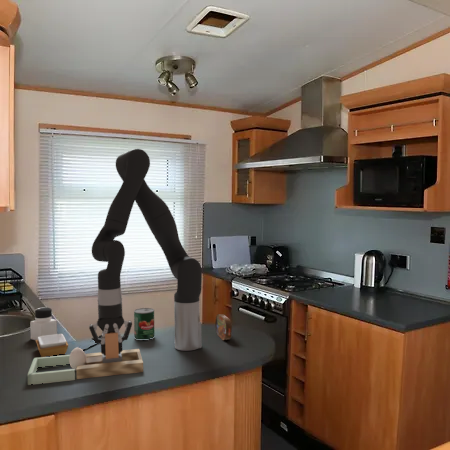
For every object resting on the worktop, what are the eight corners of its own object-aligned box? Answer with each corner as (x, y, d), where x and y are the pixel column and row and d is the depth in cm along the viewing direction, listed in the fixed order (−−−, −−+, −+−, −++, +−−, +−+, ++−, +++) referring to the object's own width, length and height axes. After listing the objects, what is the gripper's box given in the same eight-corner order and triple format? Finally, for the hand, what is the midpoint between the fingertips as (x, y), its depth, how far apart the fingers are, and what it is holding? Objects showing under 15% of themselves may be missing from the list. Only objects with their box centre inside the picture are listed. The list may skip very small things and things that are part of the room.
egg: (88, 366, 150) (86, 344, 149) (85, 372, 144) (84, 349, 144) (71, 367, 149) (70, 345, 148) (68, 374, 144) (67, 351, 143)
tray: (76, 362, 153) (76, 354, 153) (74, 380, 139) (74, 370, 139) (34, 367, 150) (34, 358, 150) (27, 385, 135) (27, 375, 135)
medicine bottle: (57, 337, 182) (56, 307, 181) (41, 342, 176) (41, 311, 175) (46, 334, 186) (45, 305, 185) (30, 339, 180) (29, 309, 179)
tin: (214, 332, 188) (214, 311, 187) (222, 331, 189) (222, 311, 188) (225, 343, 173) (225, 321, 173) (233, 342, 174) (233, 320, 174)
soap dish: (68, 355, 161) (68, 341, 161) (38, 360, 157) (38, 345, 157) (64, 345, 172) (63, 332, 172) (35, 349, 168) (35, 335, 168)
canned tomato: (146, 342, 175) (145, 313, 175) (130, 339, 179) (129, 311, 178) (158, 336, 182) (158, 309, 182) (143, 333, 186) (142, 307, 185)
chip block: (102, 364, 151) (102, 356, 151) (102, 370, 146) (102, 361, 146) (86, 366, 150) (86, 357, 150) (86, 372, 145) (86, 362, 145)
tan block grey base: (121, 360, 153) (120, 328, 152) (122, 367, 147) (121, 333, 146) (102, 363, 151) (101, 330, 151) (103, 369, 145) (101, 335, 145)
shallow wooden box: (139, 357, 158) (139, 348, 158) (143, 371, 145) (143, 362, 145) (78, 363, 153) (78, 354, 153) (76, 379, 140) (76, 369, 139)
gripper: (131, 297, 153) (133, 347, 155) (87, 300, 149) (89, 352, 151) (133, 302, 146) (135, 355, 147) (86, 306, 142) (88, 360, 143)
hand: (111, 353), depth 149 cm, fingers closed on tan block grey base, 4 cm apart
